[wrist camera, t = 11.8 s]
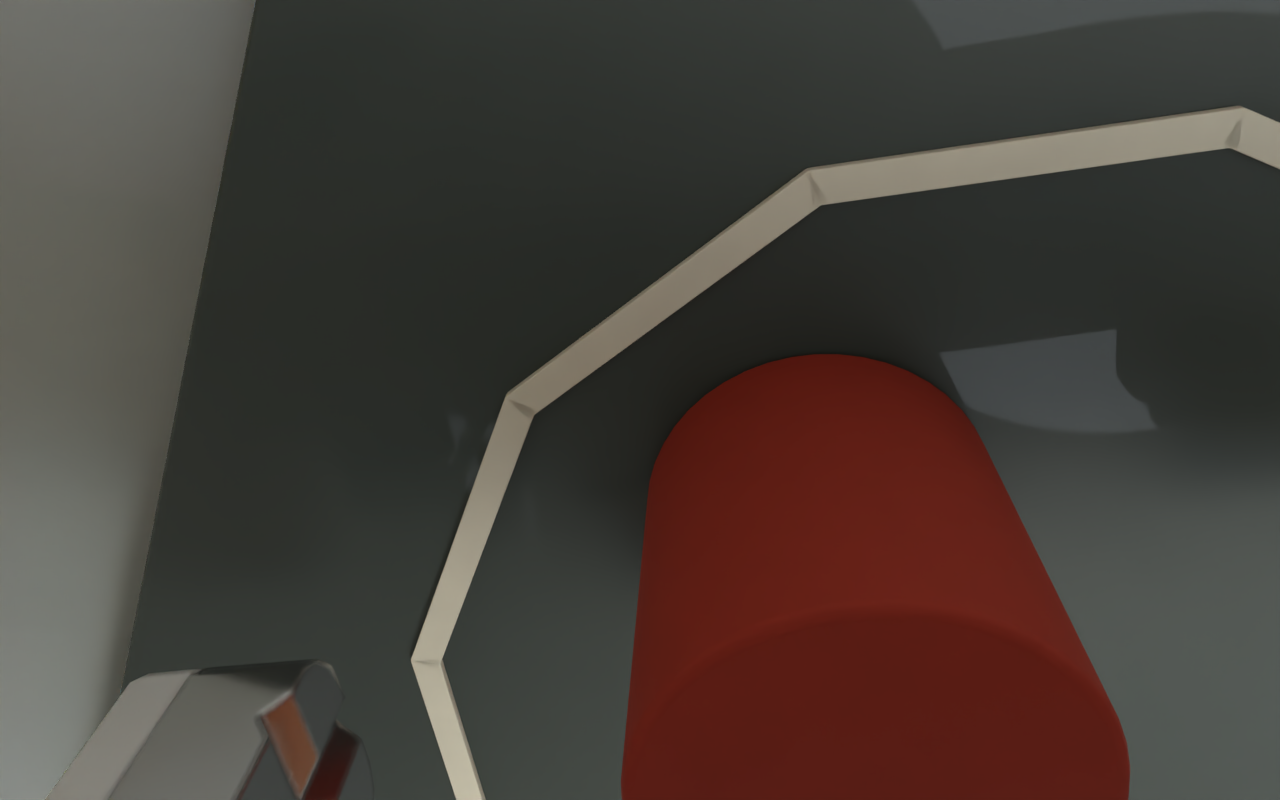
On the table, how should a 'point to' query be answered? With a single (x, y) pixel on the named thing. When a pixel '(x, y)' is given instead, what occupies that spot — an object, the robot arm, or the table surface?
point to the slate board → (719, 342)
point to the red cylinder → (851, 608)
